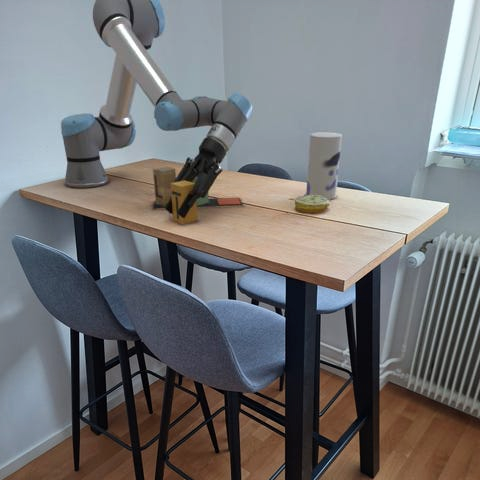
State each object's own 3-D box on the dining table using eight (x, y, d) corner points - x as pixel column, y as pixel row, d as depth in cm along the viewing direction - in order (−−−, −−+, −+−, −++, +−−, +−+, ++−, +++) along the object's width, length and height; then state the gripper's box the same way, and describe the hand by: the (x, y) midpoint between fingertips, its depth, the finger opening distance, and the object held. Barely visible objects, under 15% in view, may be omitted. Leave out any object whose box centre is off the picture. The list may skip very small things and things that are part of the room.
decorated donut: (335, 209, 147) (336, 197, 145) (315, 216, 140) (316, 204, 138) (307, 202, 153) (308, 190, 151) (287, 209, 146) (288, 197, 144)
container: (328, 202, 154) (335, 137, 144) (301, 197, 158) (305, 134, 148) (340, 195, 161) (346, 133, 151) (313, 191, 165) (318, 130, 155)
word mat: (153, 210, 146) (153, 207, 146) (154, 202, 154) (154, 199, 153) (242, 206, 149) (242, 204, 149) (239, 199, 157) (239, 196, 156)
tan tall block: (155, 203, 150) (152, 168, 144) (168, 200, 153) (165, 166, 148) (164, 207, 147) (161, 171, 141) (177, 203, 150) (175, 168, 144)
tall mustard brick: (172, 221, 136) (170, 183, 130) (186, 217, 139) (184, 180, 134) (183, 225, 133) (181, 186, 127) (197, 221, 136) (195, 183, 130)
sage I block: (186, 202, 151) (184, 167, 146) (198, 199, 154) (197, 165, 149) (196, 206, 148) (195, 170, 142) (208, 202, 151) (207, 167, 146)
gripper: (188, 132, 137) (147, 199, 135) (231, 139, 125) (186, 213, 124) (203, 149, 142) (163, 213, 141) (244, 157, 131) (202, 227, 129)
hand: (174, 213), depth 132 cm, fingers closed on tall mustard brick, 5 cm apart
